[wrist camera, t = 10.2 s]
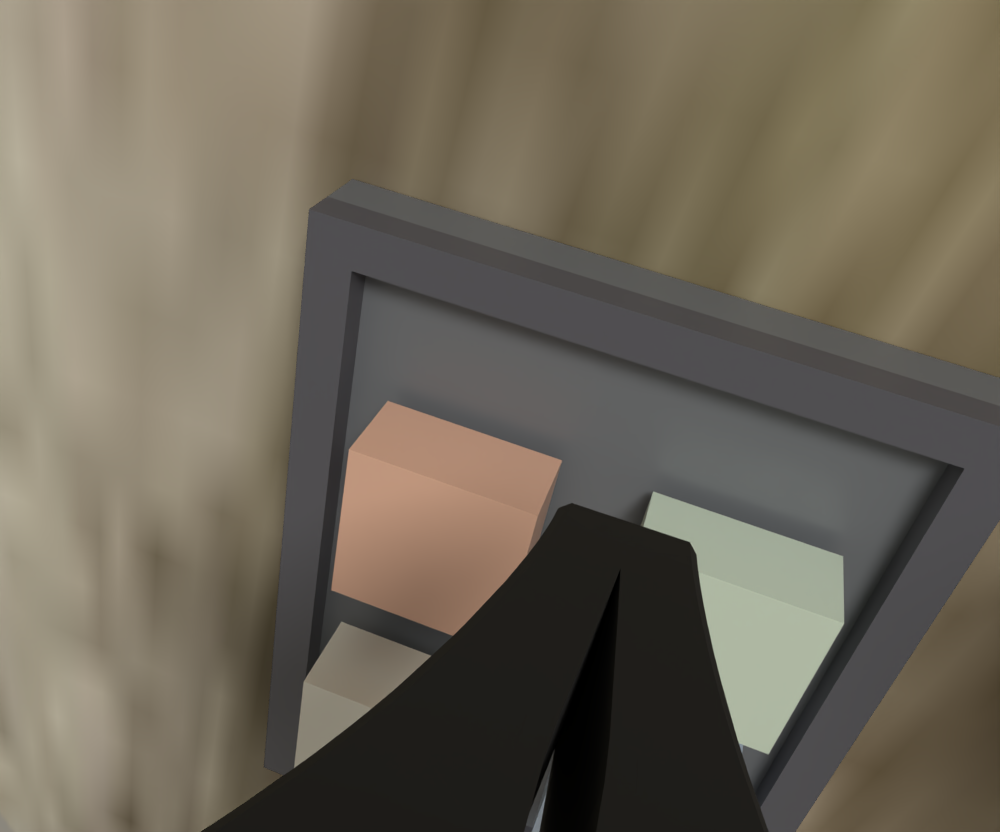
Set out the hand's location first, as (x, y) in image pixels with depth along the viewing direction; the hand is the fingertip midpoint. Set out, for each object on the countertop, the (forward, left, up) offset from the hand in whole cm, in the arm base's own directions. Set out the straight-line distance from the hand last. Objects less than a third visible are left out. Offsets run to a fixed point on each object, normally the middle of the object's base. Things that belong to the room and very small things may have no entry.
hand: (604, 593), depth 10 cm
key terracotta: (+3, +7, -9) cm, 12 cm away
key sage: (-3, +7, -9) cm, 12 cm away
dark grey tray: (0, +10, -10) cm, 14 cm away
